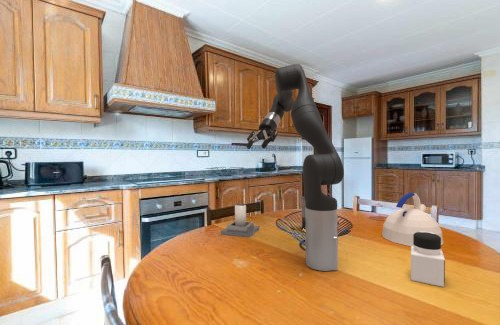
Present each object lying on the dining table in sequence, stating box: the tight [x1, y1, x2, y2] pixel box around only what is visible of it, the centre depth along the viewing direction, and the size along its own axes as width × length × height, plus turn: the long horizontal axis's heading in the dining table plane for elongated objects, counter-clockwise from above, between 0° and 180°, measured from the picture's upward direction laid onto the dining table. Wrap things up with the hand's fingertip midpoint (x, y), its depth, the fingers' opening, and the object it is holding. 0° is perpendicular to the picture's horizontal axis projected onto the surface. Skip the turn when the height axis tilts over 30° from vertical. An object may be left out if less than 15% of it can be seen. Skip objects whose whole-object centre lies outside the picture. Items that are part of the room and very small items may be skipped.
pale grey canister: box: [234, 203, 247, 227], centre depth 113 cm, size 5×5×10 cm
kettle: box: [381, 192, 444, 247], centre depth 101 cm, size 20×21×18 cm
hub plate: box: [220, 220, 260, 238], centre depth 113 cm, size 13×12×4 cm
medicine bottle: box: [410, 232, 446, 288], centre depth 68 cm, size 7×7×12 cm
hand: (255, 147), depth 114 cm, fingers open, 8 cm apart
